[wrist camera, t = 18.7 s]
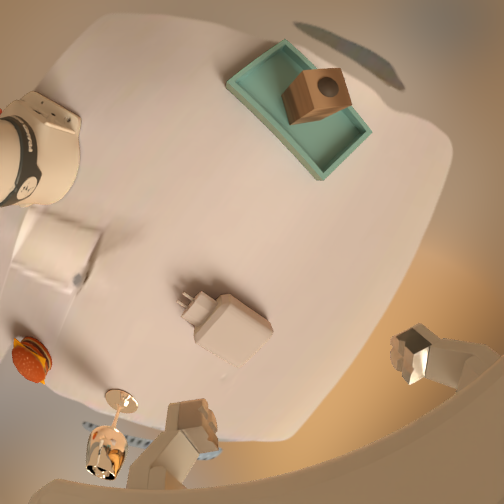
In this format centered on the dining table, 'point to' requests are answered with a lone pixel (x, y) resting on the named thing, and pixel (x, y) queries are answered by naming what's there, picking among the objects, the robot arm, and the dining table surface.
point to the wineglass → (109, 440)
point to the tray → (275, 118)
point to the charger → (226, 327)
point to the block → (315, 95)
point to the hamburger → (31, 359)
